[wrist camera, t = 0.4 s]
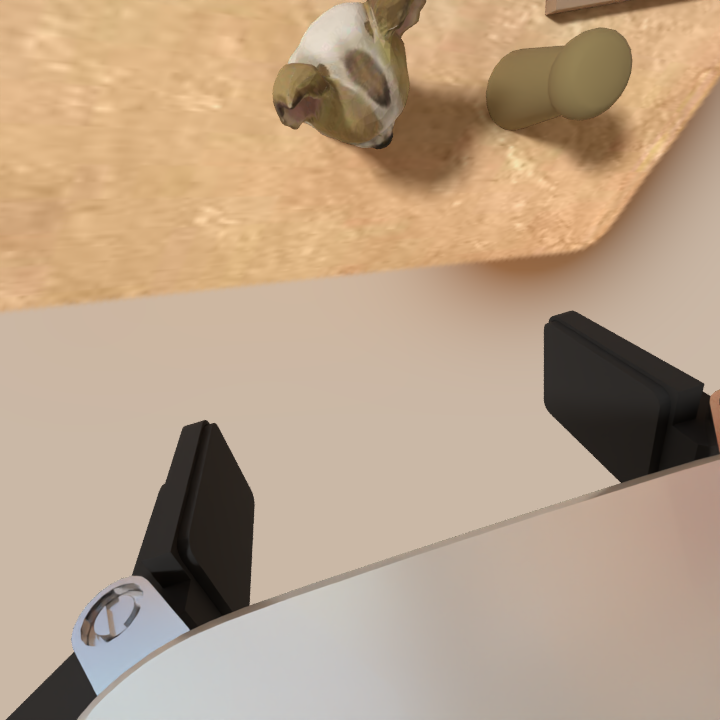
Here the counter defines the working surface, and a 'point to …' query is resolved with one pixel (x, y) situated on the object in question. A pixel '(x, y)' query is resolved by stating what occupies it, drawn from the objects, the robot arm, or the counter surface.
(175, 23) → the counter surface
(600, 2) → the board
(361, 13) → the ceramic sculpture
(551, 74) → the olive pawn figure
